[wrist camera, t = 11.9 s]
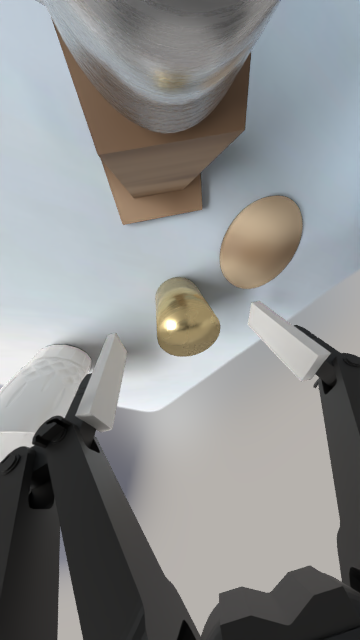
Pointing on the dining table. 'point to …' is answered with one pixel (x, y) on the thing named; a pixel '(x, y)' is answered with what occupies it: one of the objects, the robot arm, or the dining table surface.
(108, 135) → the post
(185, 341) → the brass cylinder
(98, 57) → the lever
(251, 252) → the coaster
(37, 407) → the white cup
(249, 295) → the dining table surface
